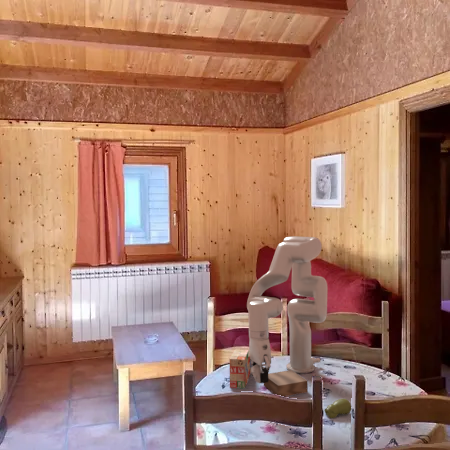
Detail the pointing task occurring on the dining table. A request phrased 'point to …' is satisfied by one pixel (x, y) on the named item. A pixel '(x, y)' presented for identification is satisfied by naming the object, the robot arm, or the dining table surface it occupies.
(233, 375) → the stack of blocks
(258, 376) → the frog figurine
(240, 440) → the dining table surface
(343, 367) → the dining table surface
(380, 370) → the dining table surface
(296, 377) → the walnut block
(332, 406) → the pear
